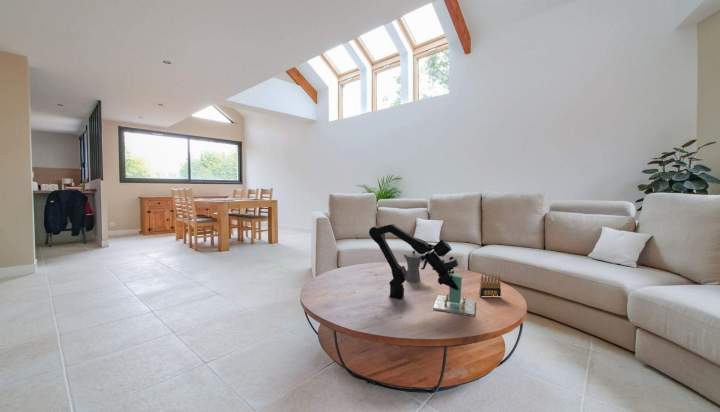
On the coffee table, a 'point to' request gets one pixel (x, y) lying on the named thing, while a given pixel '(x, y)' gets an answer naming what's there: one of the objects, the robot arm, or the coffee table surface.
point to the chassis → (455, 305)
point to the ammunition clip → (490, 286)
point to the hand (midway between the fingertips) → (458, 288)
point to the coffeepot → (413, 266)
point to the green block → (456, 294)
